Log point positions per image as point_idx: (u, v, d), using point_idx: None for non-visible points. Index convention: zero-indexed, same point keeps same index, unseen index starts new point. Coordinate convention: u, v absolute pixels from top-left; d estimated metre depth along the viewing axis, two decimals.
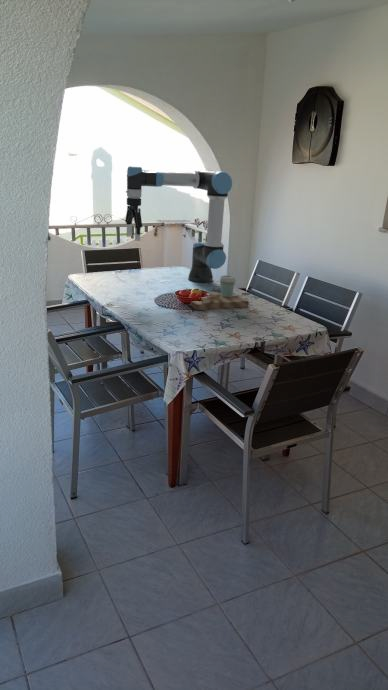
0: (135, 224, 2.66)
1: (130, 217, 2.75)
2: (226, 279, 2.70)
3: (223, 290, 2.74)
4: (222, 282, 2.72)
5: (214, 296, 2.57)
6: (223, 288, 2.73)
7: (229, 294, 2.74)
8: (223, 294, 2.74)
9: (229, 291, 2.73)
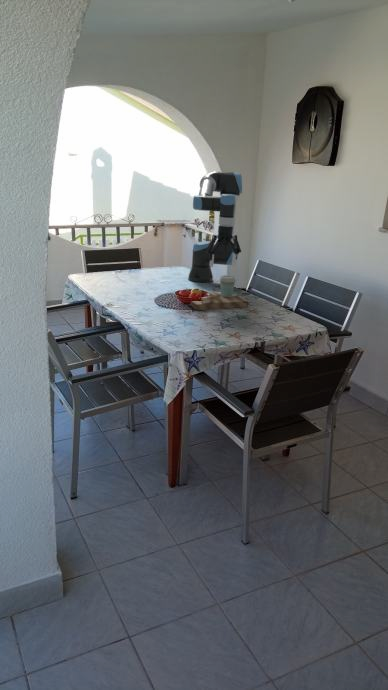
0: None
1: (230, 246, 2.70)
2: (226, 279, 2.70)
3: (223, 290, 2.74)
4: (222, 282, 2.72)
5: (214, 296, 2.57)
6: (223, 288, 2.73)
7: (229, 294, 2.74)
8: (223, 294, 2.74)
9: (229, 291, 2.73)
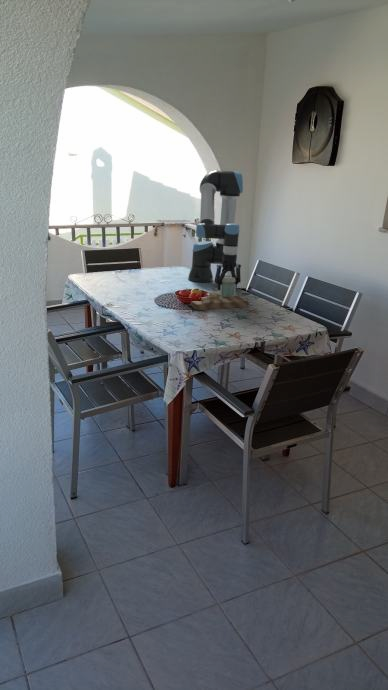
0: None
1: (232, 274, 2.75)
2: (226, 279, 2.70)
3: (223, 290, 2.73)
4: (222, 282, 2.72)
5: (214, 296, 2.57)
6: (223, 288, 2.73)
7: (229, 294, 2.74)
8: (223, 294, 2.74)
9: (229, 291, 2.73)
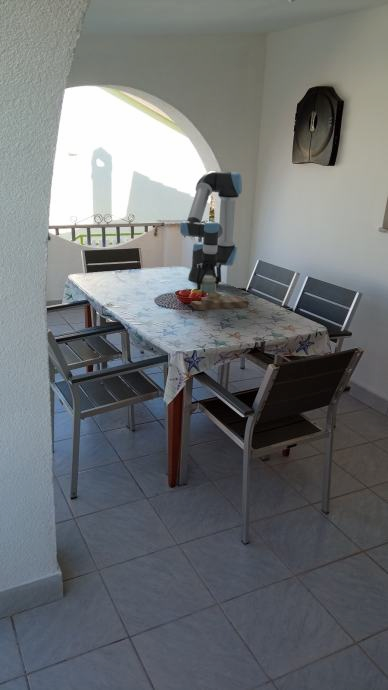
0: None
1: (212, 273, 2.69)
2: (206, 278, 2.65)
3: (203, 290, 2.68)
4: (202, 282, 2.67)
5: (214, 296, 2.57)
6: (203, 288, 2.68)
7: None
8: None
9: (209, 290, 2.68)
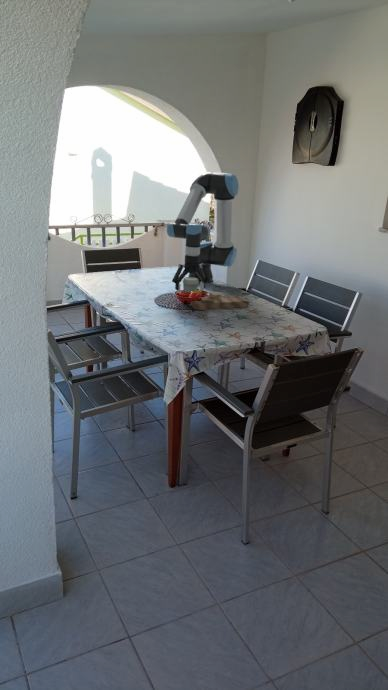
0: None
1: (197, 274, 2.66)
2: (189, 281, 2.61)
3: None
4: (185, 284, 2.63)
5: (214, 296, 2.57)
6: (186, 290, 2.64)
7: None
8: None
9: None
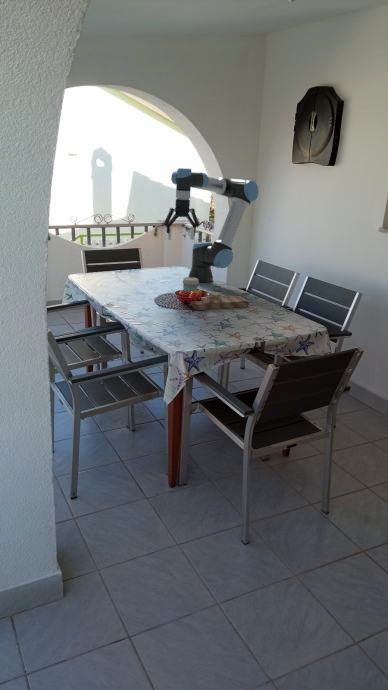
0: None
1: (188, 219, 2.76)
2: (189, 281, 2.61)
3: None
4: (185, 284, 2.63)
5: (214, 296, 2.57)
6: (186, 290, 2.64)
7: None
8: None
9: None
